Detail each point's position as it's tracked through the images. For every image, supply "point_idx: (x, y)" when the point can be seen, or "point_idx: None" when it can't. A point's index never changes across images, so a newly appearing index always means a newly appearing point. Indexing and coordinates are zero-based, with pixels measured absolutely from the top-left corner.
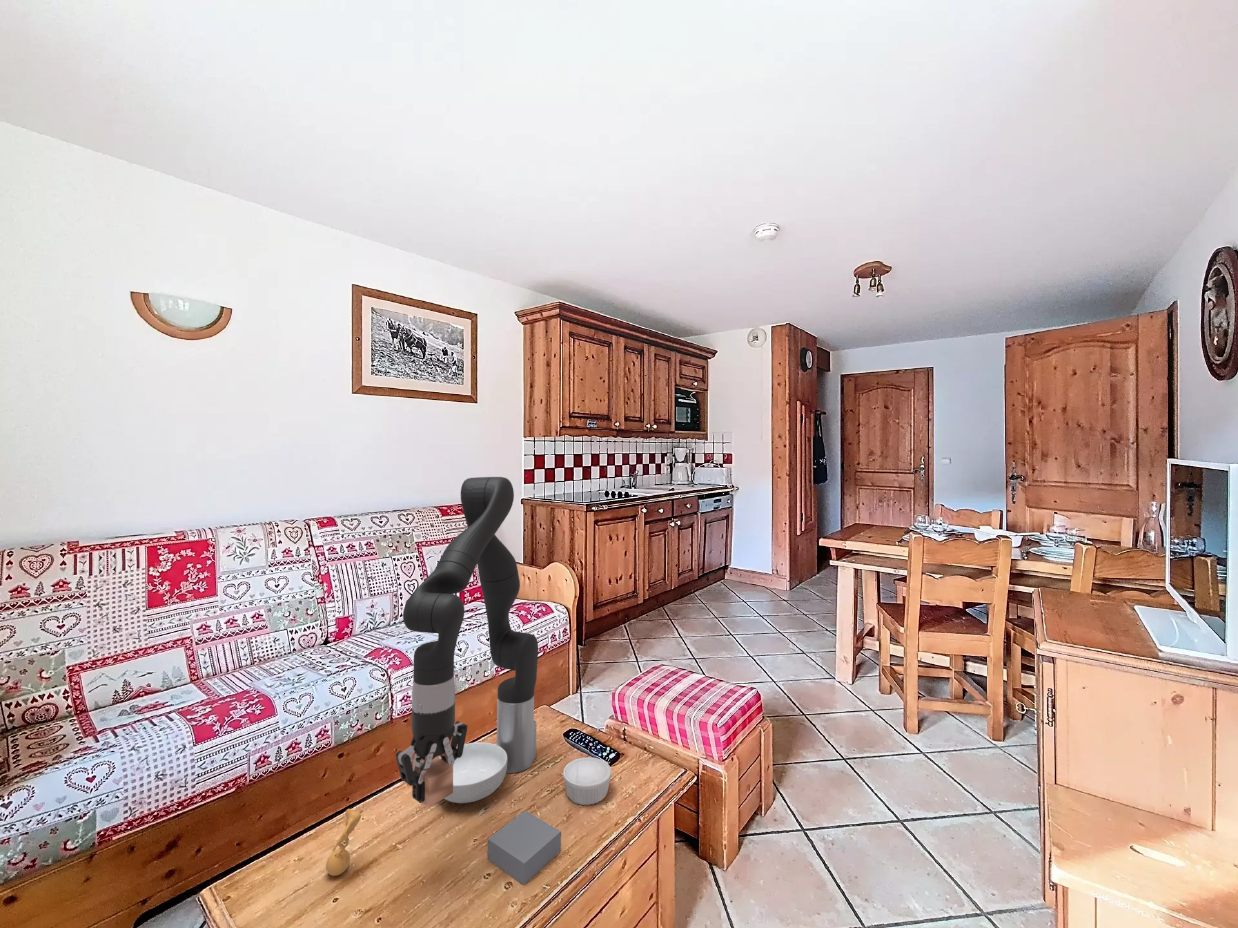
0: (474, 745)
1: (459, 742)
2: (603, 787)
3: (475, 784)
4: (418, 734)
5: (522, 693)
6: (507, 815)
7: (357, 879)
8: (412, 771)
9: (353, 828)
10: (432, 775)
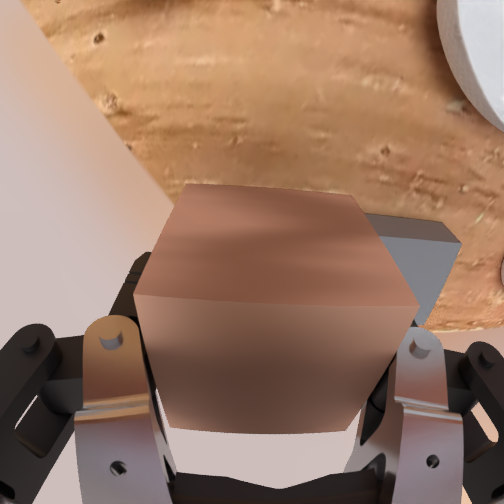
0: None
1: (464, 479)
2: None
3: (491, 111)
4: None
5: None
6: (463, 167)
7: (152, 17)
8: (49, 461)
9: None
10: (206, 420)
